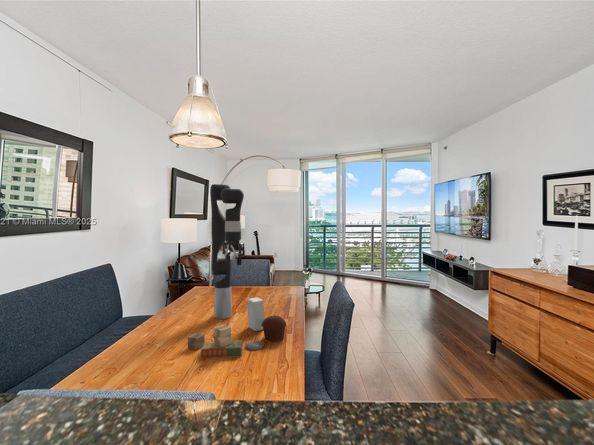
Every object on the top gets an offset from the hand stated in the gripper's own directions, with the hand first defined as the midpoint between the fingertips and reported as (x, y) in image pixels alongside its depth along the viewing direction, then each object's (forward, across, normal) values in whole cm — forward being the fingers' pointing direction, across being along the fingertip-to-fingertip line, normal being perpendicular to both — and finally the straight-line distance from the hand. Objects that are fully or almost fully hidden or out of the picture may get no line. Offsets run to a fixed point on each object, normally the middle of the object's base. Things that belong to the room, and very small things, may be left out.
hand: (233, 264), depth 150 cm
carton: (+35, +13, -16) cm, 40 cm away
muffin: (+34, +18, +9) cm, 40 cm away
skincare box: (+34, +2, +12) cm, 36 cm away
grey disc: (+34, +18, -3) cm, 39 cm away
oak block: (+30, +13, -16) cm, 37 cm away
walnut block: (+34, -1, -20) cm, 40 cm away
